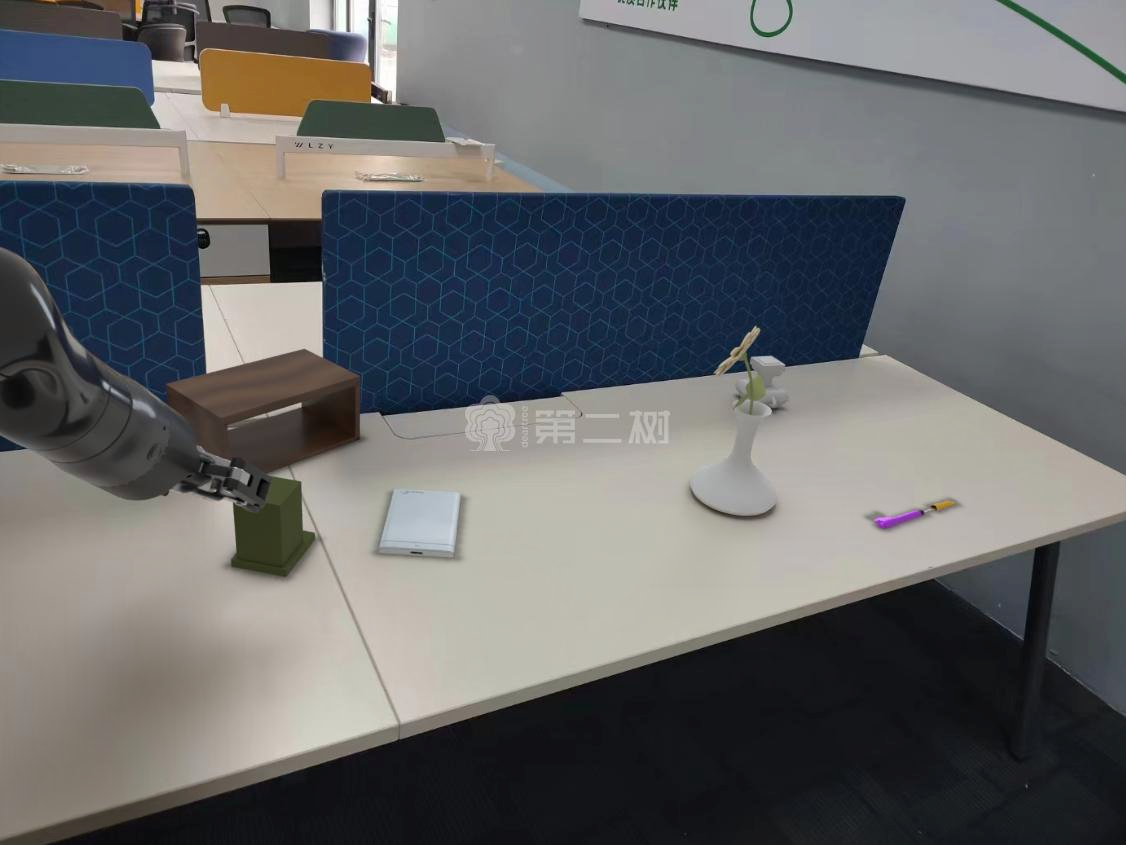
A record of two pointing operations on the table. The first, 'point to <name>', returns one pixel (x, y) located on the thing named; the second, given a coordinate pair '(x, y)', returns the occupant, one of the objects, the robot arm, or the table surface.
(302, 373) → the brown wooden cubby
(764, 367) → the stamp
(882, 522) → the purple and yellow rod
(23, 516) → the table surface
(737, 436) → the flower in vase
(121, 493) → the robot arm
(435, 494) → the hard drive
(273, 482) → the green pedestal block
